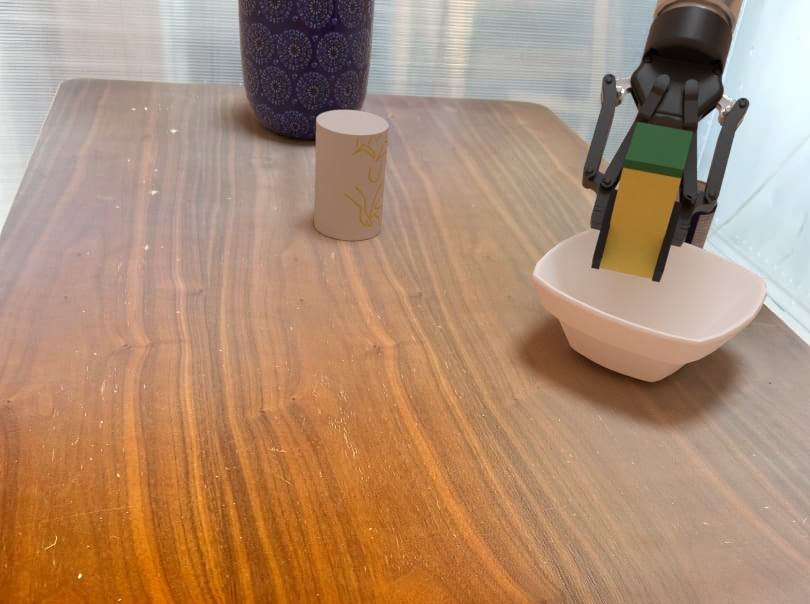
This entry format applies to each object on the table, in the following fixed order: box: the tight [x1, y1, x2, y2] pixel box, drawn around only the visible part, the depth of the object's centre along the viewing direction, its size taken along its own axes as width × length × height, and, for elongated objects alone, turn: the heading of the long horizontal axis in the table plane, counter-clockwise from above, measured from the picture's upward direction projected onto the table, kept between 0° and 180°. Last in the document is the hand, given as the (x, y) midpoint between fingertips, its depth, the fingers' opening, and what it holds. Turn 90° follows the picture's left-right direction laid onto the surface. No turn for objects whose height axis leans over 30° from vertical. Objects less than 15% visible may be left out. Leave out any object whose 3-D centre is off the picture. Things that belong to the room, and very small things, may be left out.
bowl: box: [530, 228, 768, 383], centre depth 88 cm, size 21×21×9 cm
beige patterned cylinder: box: [313, 110, 390, 242], centre depth 103 cm, size 8×8×12 cm
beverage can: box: [675, 179, 718, 249], centre depth 98 cm, size 6×6×12 cm
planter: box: [237, 0, 376, 140], centre depth 124 cm, size 18×18×21 cm
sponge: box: [600, 122, 693, 279], centre depth 81 cm, size 5×7×11 cm
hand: (626, 269), depth 81 cm, fingers closed on sponge, 5 cm apart
